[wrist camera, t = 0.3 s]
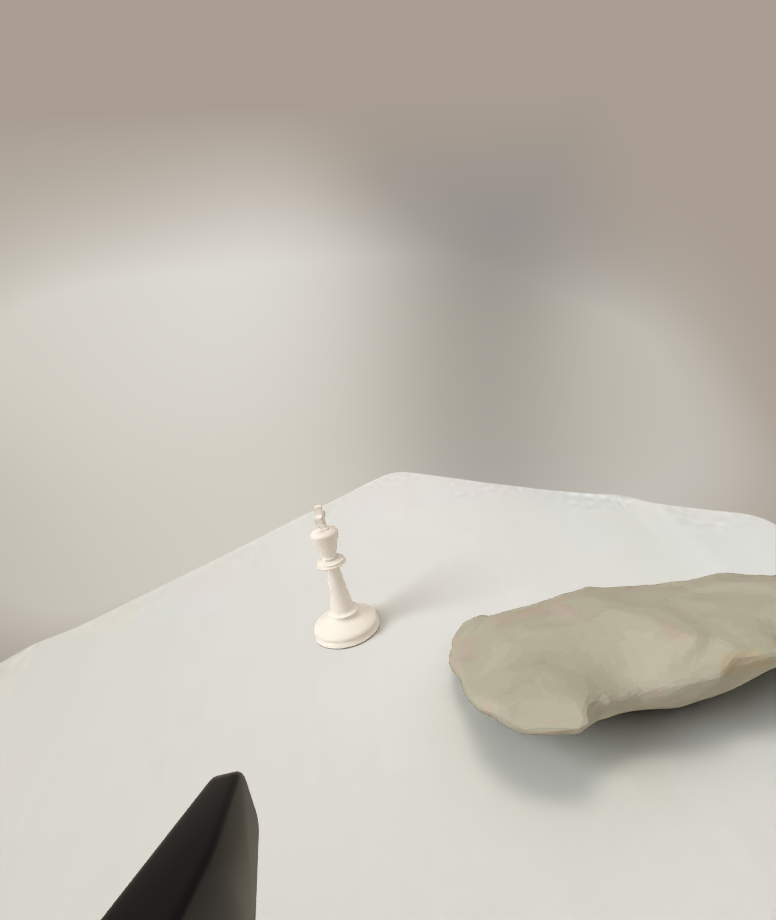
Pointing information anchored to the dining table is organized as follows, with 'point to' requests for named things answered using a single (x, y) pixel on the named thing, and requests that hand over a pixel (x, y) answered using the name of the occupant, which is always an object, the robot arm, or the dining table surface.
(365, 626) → the chess piece
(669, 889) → the dining table surface
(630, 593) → the stone tool replica
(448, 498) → the dining table surface
